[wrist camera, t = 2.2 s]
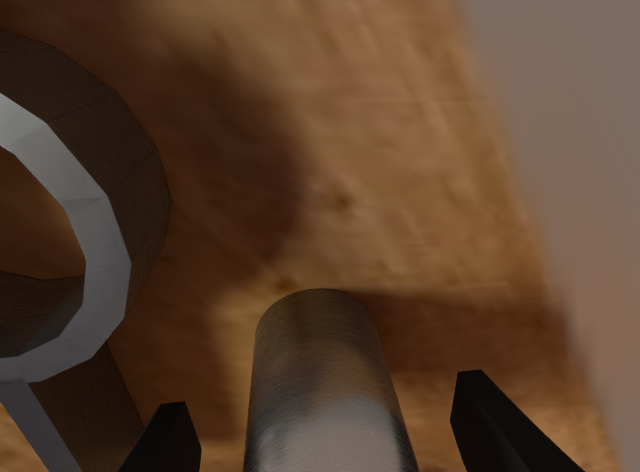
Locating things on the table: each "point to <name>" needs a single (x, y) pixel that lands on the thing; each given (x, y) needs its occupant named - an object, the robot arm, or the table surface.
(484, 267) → the table surface
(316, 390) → the hinge pin
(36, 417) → the hinge
